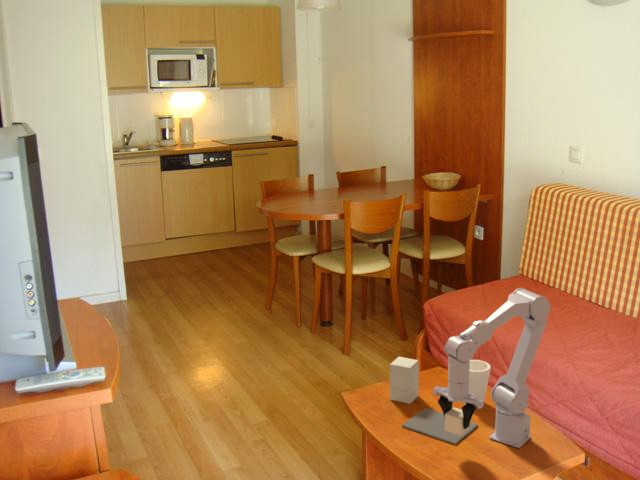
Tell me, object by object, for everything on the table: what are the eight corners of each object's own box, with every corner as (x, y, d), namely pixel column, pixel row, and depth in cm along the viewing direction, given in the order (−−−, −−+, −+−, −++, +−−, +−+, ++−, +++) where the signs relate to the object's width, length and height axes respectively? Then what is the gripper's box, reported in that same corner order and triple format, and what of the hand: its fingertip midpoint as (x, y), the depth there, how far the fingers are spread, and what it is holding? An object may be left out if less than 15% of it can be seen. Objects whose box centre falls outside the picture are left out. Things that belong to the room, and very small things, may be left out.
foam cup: (452, 401, 237) (454, 364, 234) (473, 394, 242) (475, 357, 239) (474, 412, 229) (475, 374, 226) (495, 404, 234) (496, 367, 231)
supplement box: (419, 395, 242) (419, 359, 239) (409, 404, 235) (410, 368, 232) (398, 391, 245) (398, 355, 242) (389, 399, 239) (389, 363, 236)
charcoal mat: (477, 426, 221) (477, 424, 221) (455, 445, 210) (455, 443, 210) (425, 409, 232) (425, 407, 232) (401, 426, 221) (401, 424, 221)
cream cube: (469, 428, 206) (469, 412, 204) (460, 435, 202) (461, 419, 201) (453, 423, 209) (453, 407, 207) (444, 430, 205) (445, 414, 204)
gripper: (428, 377, 203) (427, 422, 206) (475, 391, 194) (474, 438, 197) (440, 369, 208) (439, 413, 212) (487, 382, 199) (486, 427, 203)
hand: (457, 424), depth 205 cm, fingers closed on cream cube, 5 cm apart
